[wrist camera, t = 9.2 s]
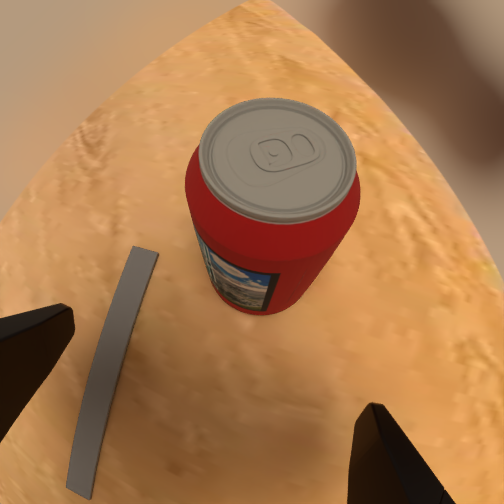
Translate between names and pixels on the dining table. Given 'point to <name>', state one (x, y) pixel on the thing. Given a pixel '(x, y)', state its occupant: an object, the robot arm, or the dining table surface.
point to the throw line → (107, 370)
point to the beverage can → (270, 200)
